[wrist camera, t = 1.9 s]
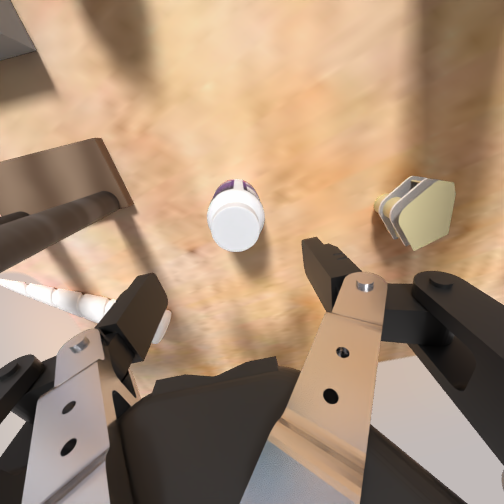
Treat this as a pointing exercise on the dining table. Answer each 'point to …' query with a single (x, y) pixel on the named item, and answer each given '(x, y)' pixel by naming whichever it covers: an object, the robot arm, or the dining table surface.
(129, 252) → the dining table surface
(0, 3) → the socket
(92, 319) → the unicorn horn
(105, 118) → the dining table surface
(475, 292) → the robot arm
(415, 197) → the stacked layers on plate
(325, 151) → the dining table surface
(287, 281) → the dining table surface
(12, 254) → the green-topped post stand
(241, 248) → the pill bottle
